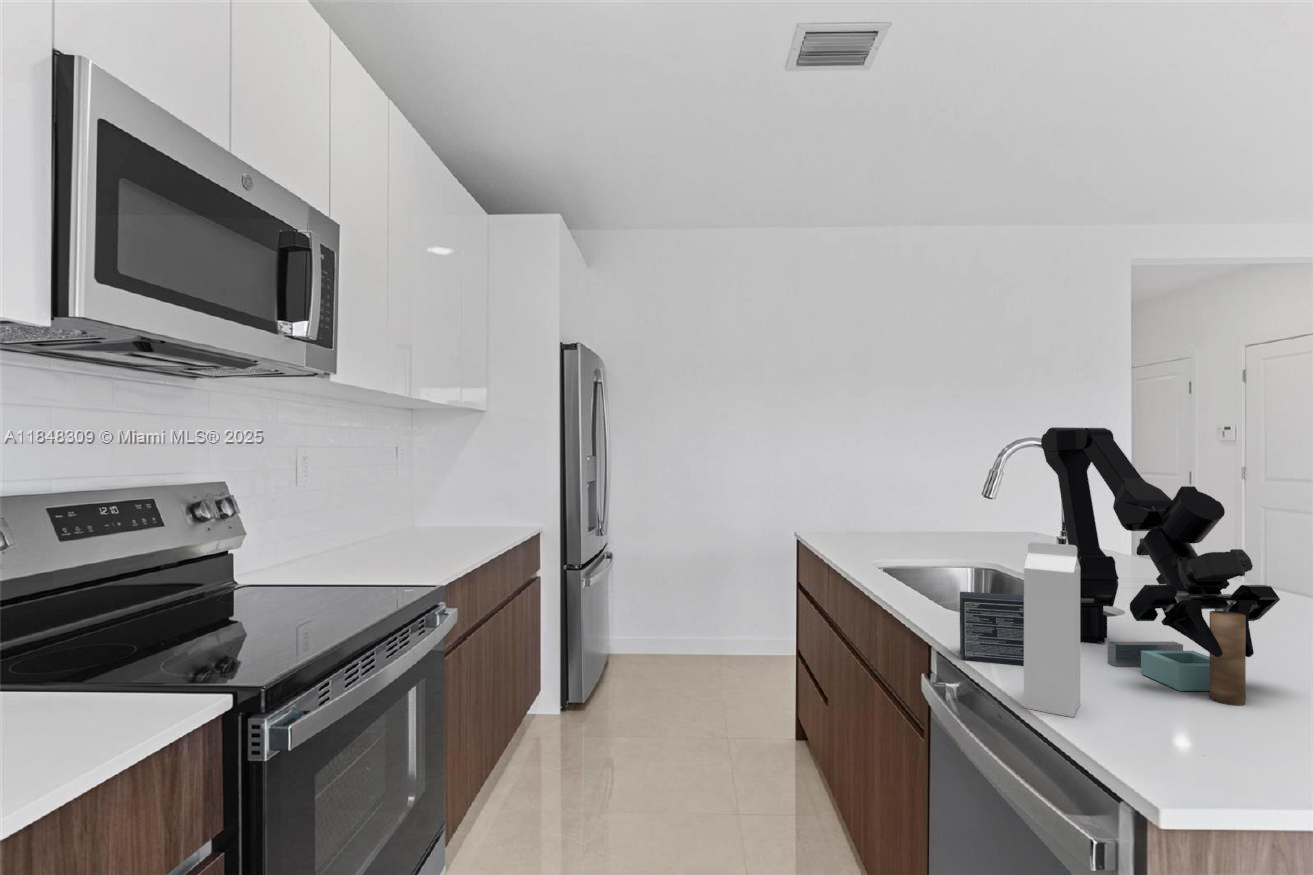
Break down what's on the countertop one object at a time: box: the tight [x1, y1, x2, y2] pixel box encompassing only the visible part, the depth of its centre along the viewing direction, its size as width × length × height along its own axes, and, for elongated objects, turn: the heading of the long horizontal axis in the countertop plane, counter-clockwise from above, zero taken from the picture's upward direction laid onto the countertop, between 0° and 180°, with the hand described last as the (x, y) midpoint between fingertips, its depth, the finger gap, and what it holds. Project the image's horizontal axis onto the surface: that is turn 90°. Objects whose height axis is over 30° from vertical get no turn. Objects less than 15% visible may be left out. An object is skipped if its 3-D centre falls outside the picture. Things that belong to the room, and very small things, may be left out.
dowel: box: [1209, 610, 1247, 706], centre depth 105 cm, size 4×4×12 cm
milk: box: [1023, 541, 1081, 718], centre depth 102 cm, size 6×6×22 cm
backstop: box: [1107, 641, 1184, 668], centre depth 122 cm, size 2×11×4 cm, turn 92°
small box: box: [959, 591, 1024, 666], centre depth 125 cm, size 11×6×10 cm, turn 71°
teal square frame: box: [1140, 650, 1210, 692], centre depth 113 cm, size 8×8×4 cm
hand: (1235, 655), depth 103 cm, fingers closed on dowel, 4 cm apart
